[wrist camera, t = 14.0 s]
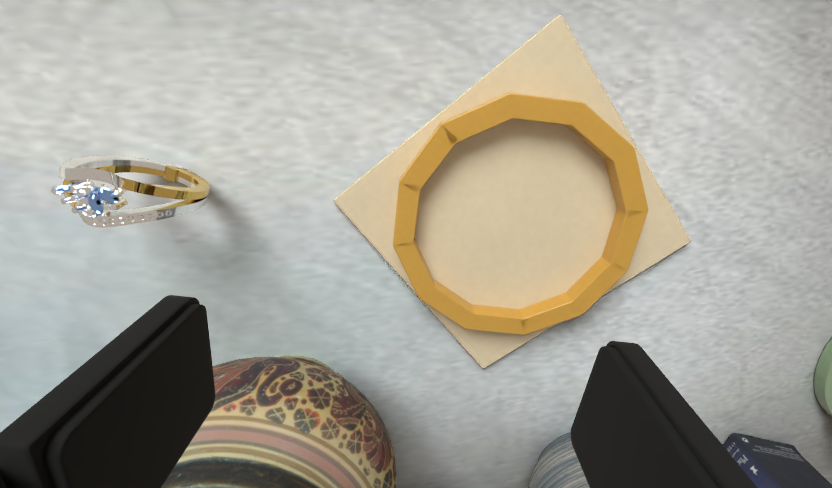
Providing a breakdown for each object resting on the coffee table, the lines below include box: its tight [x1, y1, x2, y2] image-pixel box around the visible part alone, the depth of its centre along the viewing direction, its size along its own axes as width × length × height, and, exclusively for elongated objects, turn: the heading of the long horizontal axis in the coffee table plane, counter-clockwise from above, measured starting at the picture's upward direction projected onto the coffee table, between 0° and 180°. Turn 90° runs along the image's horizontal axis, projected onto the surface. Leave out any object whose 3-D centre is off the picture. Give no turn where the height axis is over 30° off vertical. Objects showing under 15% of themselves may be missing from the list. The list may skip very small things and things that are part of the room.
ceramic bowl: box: [161, 356, 396, 488], centre depth 27 cm, size 24×18×15 cm
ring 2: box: [393, 93, 648, 335], centre depth 26 cm, size 17×17×1 cm
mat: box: [334, 15, 691, 369], centre depth 27 cm, size 18×18×1 cm
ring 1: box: [51, 155, 210, 227], centre depth 23 cm, size 7×3×8 cm, turn 69°
